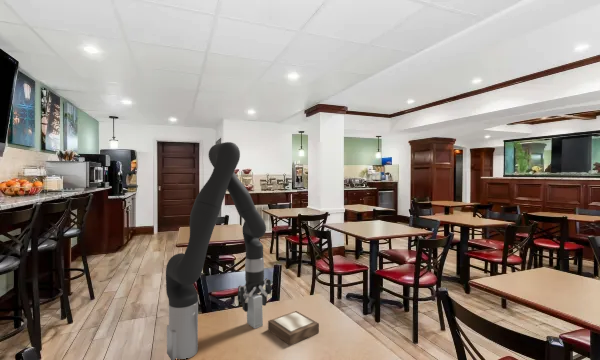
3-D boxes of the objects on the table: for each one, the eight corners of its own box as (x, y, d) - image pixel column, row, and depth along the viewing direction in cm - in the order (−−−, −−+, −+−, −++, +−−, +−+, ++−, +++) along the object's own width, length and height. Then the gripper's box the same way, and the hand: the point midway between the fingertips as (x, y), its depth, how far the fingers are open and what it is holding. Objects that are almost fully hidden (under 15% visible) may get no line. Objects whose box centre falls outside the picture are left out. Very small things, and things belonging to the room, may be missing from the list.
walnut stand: (289, 345, 110) (290, 334, 109) (268, 329, 120) (268, 319, 120) (318, 332, 118) (318, 322, 118) (296, 319, 129) (296, 309, 129)
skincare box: (263, 325, 123) (263, 295, 123) (253, 329, 121) (253, 298, 120) (255, 320, 128) (255, 291, 128) (245, 323, 125) (245, 293, 125)
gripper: (243, 274, 117) (244, 316, 117) (274, 267, 126) (274, 306, 126) (234, 269, 123) (234, 310, 123) (264, 262, 132) (264, 300, 132)
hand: (255, 308), depth 125 cm, fingers open, 8 cm apart
